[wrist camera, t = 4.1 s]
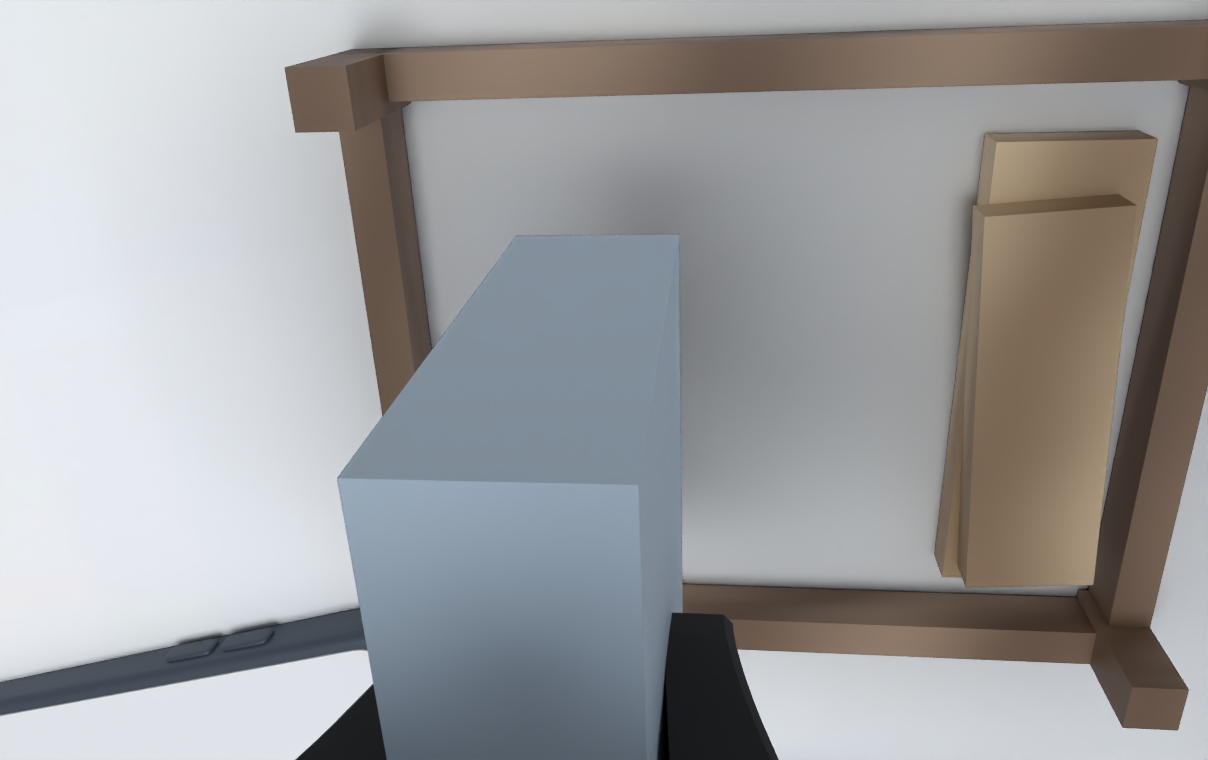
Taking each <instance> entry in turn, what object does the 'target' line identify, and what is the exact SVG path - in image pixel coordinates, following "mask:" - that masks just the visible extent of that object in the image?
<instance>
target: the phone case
mask: <svg viewBox="0 0 1208 760" xmlns="http://www.w3.org/2000/svg"><path fill="white" fill-rule="evenodd" d="M372 684H373V679H372V673H371V668H370V662H369V656H368V651H367V645H366V639H365V634H364V628H363V623H362V617H361V611H360V609H355V610H350V611H345V612H340V613H334V614H329V615H324V616H319V617H314V618H309V619H304V620H299V621H294V622H289V623H284V624H279V625H275V626H270V627H265V628H260V629H255V630H250V631H245V632H241V633H236V634H231V635H226V636H221V637H216V638H211V639H207V640H202V641H197V642H192V643H187V644H182V645H177V646H172V647H168V648H163V649H158V650H153V651H148V652H143V653H138V654H134V655H129V656H124V657H119V658H114V659H110V660H105V661H100V662H95V663H91V664H86V665H81V666H76V667H72V668H67V669H62V670H57V671H52V672H48V673H43V674H38V675H33V676H29V677H24V678H19V679H14V680H10V681H5V682H0V760H295V759H297V758H298V757H299V756H300V755H301V754H302V753H303V752H304V751H305V750H306V749H307V748H308V747H310V746H311V745H312V744H313V743H314V742H315V741H316V740H317V739H318V738H319V737H320V736H321V735H322V734H323V733H324V732H325V731H327V730H328V729H329V728H330V727H331V726H332V725H333V724H334V723H335V722H336V721H337V720H338V719H339V718H340V717H341V716H342V715H343V713H344V712H345V711H346V710H347V709H348V708H349V707H350V706H351V705H352V704H353V703H354V702H355V701H356V700H357V699H358V698H359V697H360V696H361V695H362V694H363V693H364V692H365V691H366V690H367V689H368V688H369V687H370V686H371V685H372Z"/></svg>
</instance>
